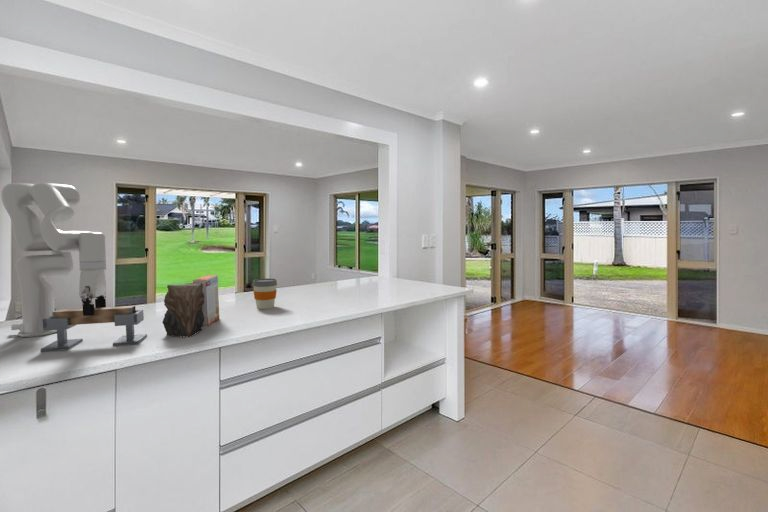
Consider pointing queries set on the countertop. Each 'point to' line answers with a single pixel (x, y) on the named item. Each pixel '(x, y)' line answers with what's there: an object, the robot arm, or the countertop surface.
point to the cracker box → (209, 298)
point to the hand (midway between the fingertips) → (94, 312)
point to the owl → (184, 309)
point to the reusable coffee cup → (265, 293)
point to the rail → (99, 315)
